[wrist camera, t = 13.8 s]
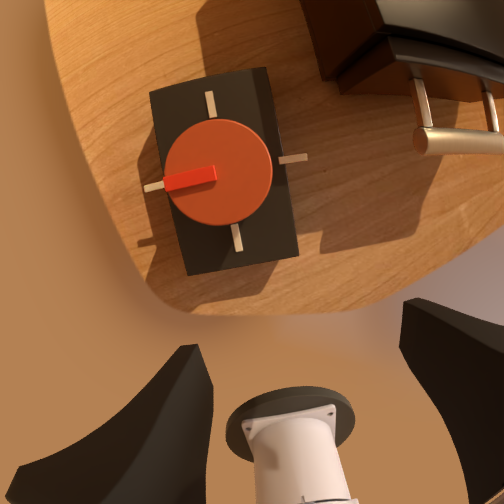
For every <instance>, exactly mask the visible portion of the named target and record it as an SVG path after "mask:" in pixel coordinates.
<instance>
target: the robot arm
mask: <svg viewBox="0 0 504 504" xmlns="http://www.w3.org/2000/svg"><path fill="white" fill-rule="evenodd" d="M399 348H400V350H401V352H402V354H403V356H404V359H405V360H406V362H407V364H408V366H409V368H410V369H411V371H412V373H413V374H414V375H415V377H416V378H417V380H418V381H419V383H420V384H421V386H422V387H423V388H424V390H425V391H426V393H427V394H428V396H429V397H430V399H431V400H432V402H433V403H434V405H435V406H436V408H437V409H438V411H439V413H440V414H441V416H442V418H443V420H444V422H445V424H446V426H447V429H448V431H449V433H450V435H451V437H452V440H453V443H454V445H455V448H456V451H457V453H458V456H459V459H460V462H461V466H462V469H463V473H464V477H465V482H466V486H467V491H468V498H469V504H485V503H486V502H487V501H489V500H490V499H491V498H493V497H494V496H495V495H497V494H498V493H499V492H501V490H503V489H504V326H502V325H498V324H494V323H491V322H488V321H484V320H481V319H478V318H475V317H472V316H469V315H466V314H464V313H461V312H458V311H455V310H453V309H450V308H447V307H445V306H442V305H439V304H437V303H434V302H431V301H428V300H425V299H421V298H414V299H411V300H407V301H404V302H403V315H402V325H401V334H400V343H399ZM212 418H213V384H212V382H211V379H210V376H209V374H208V371H207V368H206V366H205V363H204V360H203V358H202V355H201V352H200V349H199V346H198V344H192V345H183V346H180V347H179V348H178V349H177V350H176V351H175V353H174V354H173V355H172V356H171V357H170V358H169V360H168V361H167V362H166V363H165V364H164V366H163V367H162V368H161V369H160V370H159V371H158V372H157V374H156V375H155V376H154V377H153V378H152V379H151V380H150V382H149V383H148V384H147V385H146V386H145V387H144V388H143V389H142V390H141V391H140V392H139V393H138V394H137V395H136V396H135V397H134V398H133V399H132V400H131V401H130V402H129V403H128V404H127V405H126V406H125V407H124V408H123V409H122V410H121V411H120V412H118V413H117V414H116V415H115V416H113V417H112V418H111V419H110V420H108V421H107V422H106V423H105V424H103V425H102V426H101V427H99V428H98V429H96V430H95V431H93V432H92V433H90V434H89V435H87V436H86V437H84V438H83V439H81V440H80V441H78V442H76V443H74V444H72V445H71V446H69V447H67V448H65V449H63V450H61V451H59V452H57V453H55V454H53V455H50V456H48V457H46V458H43V459H40V460H37V461H35V462H32V463H29V464H26V465H22V466H19V468H18V469H17V472H16V474H15V476H14V478H13V480H12V482H11V484H10V487H9V489H8V491H7V493H6V495H5V497H6V499H7V501H9V502H10V503H11V504H206V463H207V455H208V448H209V441H210V433H211V426H212ZM335 423H336V408H335V405H333V404H329V405H325V406H321V407H317V408H312V409H307V410H303V411H298V412H292V413H287V414H281V415H275V416H269V417H262V418H254V419H246V420H243V421H242V429H243V431H244V434H245V436H246V439H247V442H248V444H249V447H250V449H251V452H252V454H253V457H254V471H255V491H256V504H359V502H358V499H357V498H356V499H352V500H351V497H350V494H349V490H348V486H347V483H346V479H345V476H344V473H343V469H342V466H341V463H340V459H339V455H338V452H337V449H336V445H335ZM489 504H504V493H503V494H502V495H500V496H499V497H497V498H496V499H495V500H494V501H492V502H491V503H489Z"/></svg>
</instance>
